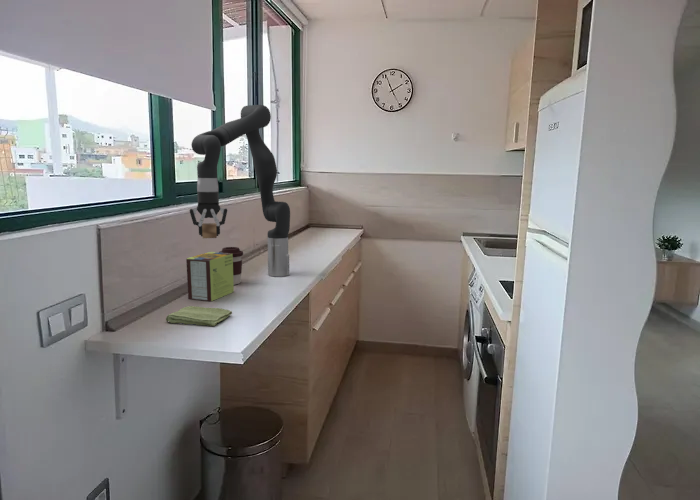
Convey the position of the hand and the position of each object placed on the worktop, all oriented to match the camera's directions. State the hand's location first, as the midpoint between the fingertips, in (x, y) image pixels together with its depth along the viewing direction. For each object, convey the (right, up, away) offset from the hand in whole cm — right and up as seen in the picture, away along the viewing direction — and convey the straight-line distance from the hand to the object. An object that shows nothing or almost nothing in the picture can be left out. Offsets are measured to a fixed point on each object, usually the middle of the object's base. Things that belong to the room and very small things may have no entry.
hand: (209, 235), depth 187 cm
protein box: (0, -23, +3) cm, 23 cm away
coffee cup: (+3, -20, +23) cm, 30 cm away
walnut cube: (0, -1, 0) cm, 0 cm away
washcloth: (+4, -28, -26) cm, 38 cm away
